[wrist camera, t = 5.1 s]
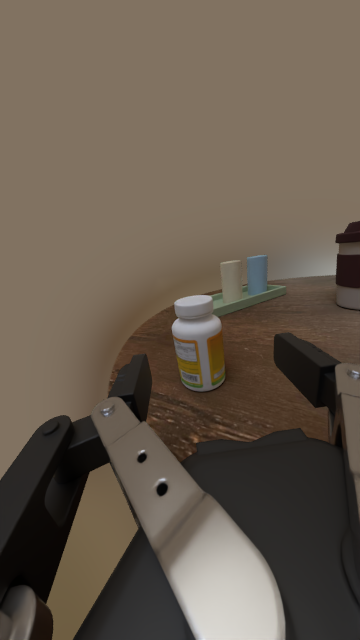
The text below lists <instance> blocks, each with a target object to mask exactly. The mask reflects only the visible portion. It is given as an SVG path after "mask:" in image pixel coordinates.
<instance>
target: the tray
mask: <svg viewBox="0 0 360 640" xmlns="http://www.w3.org/2000/svg"><path fill="white" fill-rule="evenodd" d="M242 293H243V299H241V300H238V301H234V302H231V303H228V304H226V303H223V294H222V293H219V294H215V295H212V296H211V297H212V299H213V307H214V308H213V312H212V314H213V315H215V316H217V317H219V316H222V315H225V314H228V313H231V312H234V311H237V310H240V309H243V308H246V307H249V306H252V305H255V304H258V303H261V302H264V301H267V300H270V299H273V298H276V297H278V296H281V295H284V294H286V286H276V285H267V292H263V293H260V294H257V295H254V296H251V295H248V286H244V287H242Z"/></svg>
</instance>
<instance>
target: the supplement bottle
mask: <svg viewBox="0 0 360 640" xmlns="http://www.w3.org/2000/svg"><path fill="white" fill-rule="evenodd" d="M174 305H175V313H176V316H177V317H179V318H178V319H177V320H176V321H175V322H174V323H173V326H172V332H173V338H174V344H175V349H176V355H177V361H178V366H179V372H180V377H181V381H182V383H183V384H184V385H185V386H186V387H187V388H189V389H191V390H194V391H200V392H203V391H209V390H212V389H215V388H217V387H218V386H220V385H221V384H222V383H223V381H224V379H225V362H224V349H223V336H222V325H221V321H220V319H219V318H218V317H217V316H215V315H213V314H212V312H213V308H214V307H213V299H212V297H211V296H207V295H197V296H189V297H185V298H182V299H179V300H177V301H175V303H174Z"/></svg>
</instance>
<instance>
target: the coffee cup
mask: <svg viewBox="0 0 360 640" xmlns="http://www.w3.org/2000/svg"><path fill="white" fill-rule="evenodd" d="M336 243H339V254H337V269H336V284H337V295H336V303H337V304H338V305H339V306H341V307H344V308H349V309H355V310H360V221H358V222H352V223H350V224H349V225H348V227H347V228H346V230H345V232H344V233H341V234H337V235H336Z"/></svg>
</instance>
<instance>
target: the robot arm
mask: <svg viewBox="0 0 360 640" xmlns="http://www.w3.org/2000/svg"><path fill="white" fill-rule="evenodd" d="M274 361H275V364H276V366H277V367H278V368H279V369H280V370H281V371H282V372H283V374H284V375H285V376H286V377H287V378H288V379H289V380H290V381H291V382H292V383H293V384H294V385H295V386H296V388H297V389H298V390H299V391H300V392H301V393H302V394H303V395H304V396H305V397H306V398H307V399H308V400H309V401H310V403H311V404H312V405H313V406H314V407H315V408H318V407H325V406H327V407H328V408H329V410H328V439H329V443H328V442H325V441H322V440H318V439H314V438H308V437H306V435H305V434H304V432H303V431H302V430H301V428H297V429H290V430H283V431H276V432H273V433H271V434H268V435H266V436H264V437H262V438H259V439H257V440H255V441H253V442H243V441H233V440H223V439H220V440H213V441H206V442H199V443H196V447H197V452H196V453H194V454H192V455H190V456H189V457H187V458H186V459H185V460H183V461H182V462H181V463H179V461H178V460H177V459H176V458H175V457H174V455H173V454H172V453H171V452H170V450H169V449H168V448H167V447H166V446H165V444H164V443H163V442H162V441H161V440H160V438H159V437H158V436H157V435H156V434H155V432H154V431H153V430H152V429H151V427H150V426H149V425H148V424H147V423H146V419H147V412H148V406H149V400H150V394H151V387H152V376H151V371H150V367H149V363H148V359H147V355H146V354H139V355H133V357H132V360H131V362H130V364H126V365H125V366H124V367H123V368H122V369H121V370H120V371H119V373H118V376H117V378H116V380H115V382H114V384H113V387H112V389H111V391H110V393H109V395H108V398H107V399H105V400H103V401H101V402H100V403H99V404H97V405H96V406H95V407H94V409H93V410H92V412H91V415H90V416H87V417H85V418H82V419H80V420H77V421H75V422H71V419H70V418H69V417H68V416H66V415H63V416H58V417H54V418H53V419H50V420H48V421H47V422H45V423H44V424H43V425H41V426H40V427H39V428H38V429H37V430H36V431H35V433H34V434H33V435H32V437H31V438H30V439H29V441H28V442H27V444H26V445H25V446H24V448H23V449H22V451H21V452H20V454H19V455H18V456H17V458H16V459H15V460H14V462H13V463H12V465H11V466H10V467H9V469H8V470H7V472H6V473H5V474H4V476H3V477H2V479H1V480H0V640H52V634H53V618H52V613H51V610H50V609H49V607H48V606H47V605H46V603H47V600H48V597H49V594H50V591H51V588H52V585H53V582H54V578H55V575H56V572H57V569H58V566H59V563H60V560H61V557H62V554H63V551H64V548H65V545H66V542H67V539H68V535H69V532H70V530H71V526H72V523H73V521H74V518H75V515H76V511H77V509H78V506H79V502H80V500H81V496H82V493H83V490H84V487H85V484H86V481H87V478H88V475H89V472H90V471H92V470H94V469H96V468H98V467H101V466H102V465H105V464H107V463H110V465H111V467H112V469H113V471H114V474H115V476H116V478H117V481H118V482H119V485H120V487H121V489H122V492H123V494H124V496H125V498H126V500H127V503H128V505H129V508H130V510H131V512H132V515H133V517H134V519H135V522H136V524H137V526H138V528H139V529H138V531H137V532H136V534H135V536H134V537H133V539H132V541H131V542H130V544H129V546H128V548H127V549H126V551H125V553H124V554H123V556H122V558H121V559H120V561H119V563H118V564H117V566H116V568H115V570H114V571H113V573H112V574H111V576H110V578H109V580H108V581H107V583H106V585H105V586H104V588H103V590H102V591H101V593H100V595H99V596H98V598H97V600H96V601H95V603H94V605H93V606H92V608H91V610H90V611H89V613H88V615H87V616H86V618H85V620H84V622H83V623H82V625H81V627H80V628H79V630H78V632H77V633H76V635H75V637H74V639H73V640H360V365H358V364H353V363H341V362H339V361H338V360H336V359H335V358H333V357H332V356H330V355H329V354H327V353H325V352H323V351H322V350H321V349H319V348H317V347H316V346H315V345H313V344H311V343H310V342H307V341H305V340H302V339H299V338H297V337H296V336H294V335H293V334H291V333H289V332H288V333H281V334H276V335H275V337H274Z"/></svg>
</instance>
